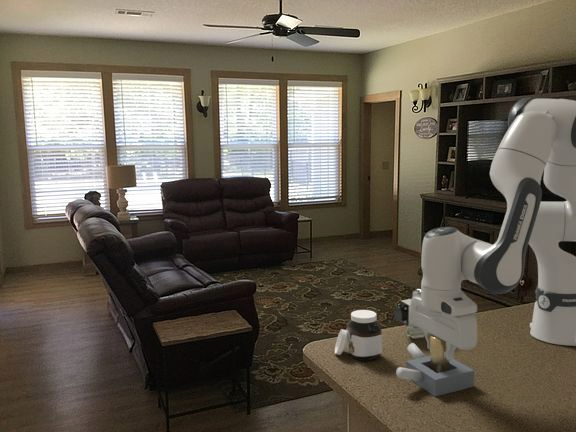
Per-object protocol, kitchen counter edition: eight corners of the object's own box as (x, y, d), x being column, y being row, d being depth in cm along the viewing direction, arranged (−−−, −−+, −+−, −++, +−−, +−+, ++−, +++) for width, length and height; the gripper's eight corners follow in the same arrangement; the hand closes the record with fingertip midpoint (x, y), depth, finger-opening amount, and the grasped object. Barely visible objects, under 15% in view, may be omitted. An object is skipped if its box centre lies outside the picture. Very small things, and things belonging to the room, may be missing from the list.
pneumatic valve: (438, 336, 148) (438, 297, 146) (402, 342, 144) (402, 302, 143) (427, 330, 153) (427, 292, 151) (392, 335, 150) (392, 296, 148)
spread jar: (386, 359, 134) (386, 317, 132) (349, 367, 129) (348, 324, 128) (363, 343, 145) (362, 304, 143) (327, 351, 140) (327, 310, 139)
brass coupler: (441, 363, 122) (441, 331, 121) (453, 370, 118) (453, 337, 117) (426, 366, 121) (426, 334, 120) (438, 374, 117) (438, 341, 116)
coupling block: (427, 358, 133) (428, 338, 132) (473, 386, 117) (474, 363, 116) (371, 371, 127) (371, 350, 126) (412, 402, 111) (412, 378, 110)
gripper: (403, 288, 126) (403, 341, 127) (459, 311, 107) (458, 373, 109) (423, 284, 128) (423, 337, 130) (482, 307, 109) (481, 368, 111)
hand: (440, 354), depth 119 cm, fingers closed on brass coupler, 4 cm apart
